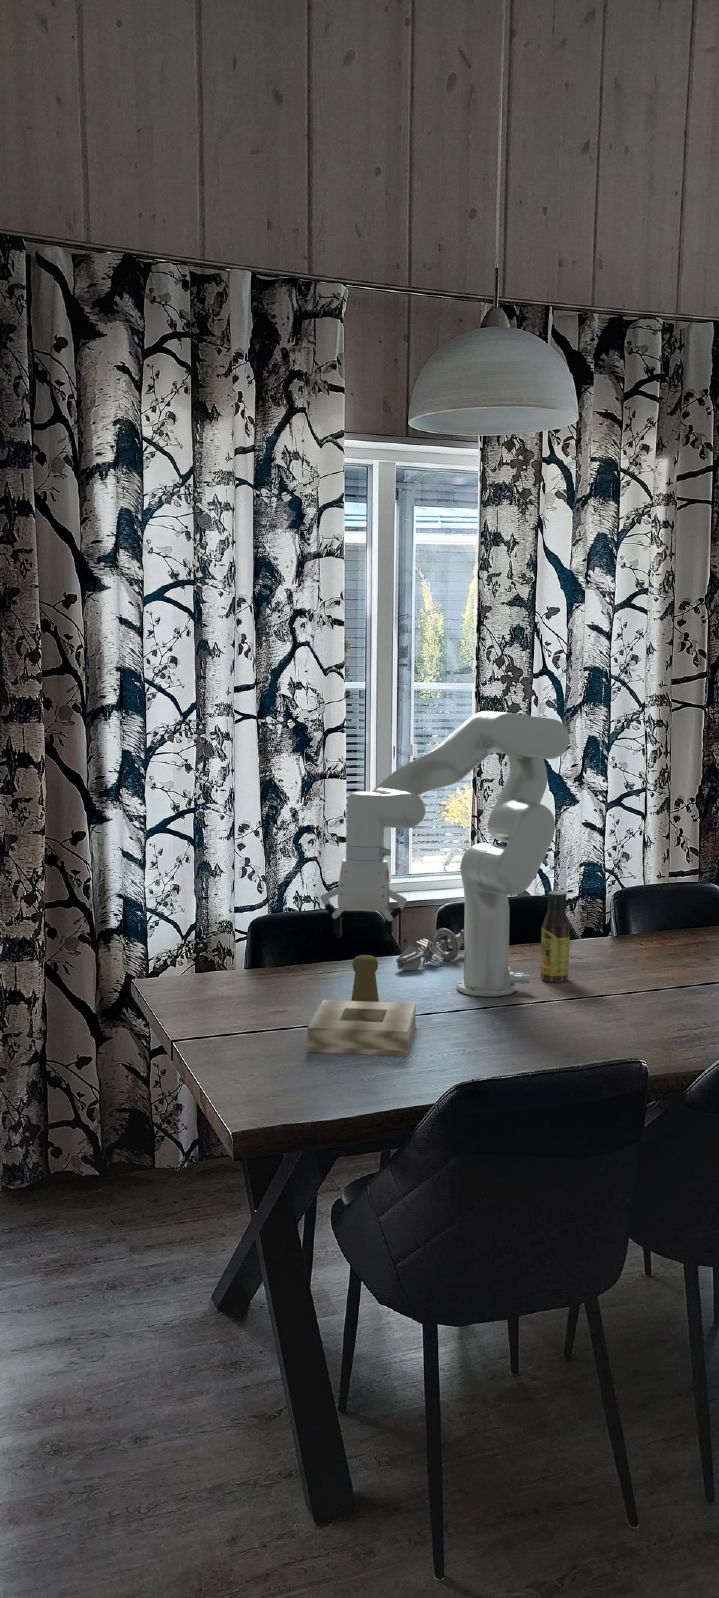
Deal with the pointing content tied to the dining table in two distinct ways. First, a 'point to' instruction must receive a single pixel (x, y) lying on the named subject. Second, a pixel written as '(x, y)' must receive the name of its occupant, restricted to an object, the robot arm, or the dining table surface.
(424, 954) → the spaceship
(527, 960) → the dining table surface
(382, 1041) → the socket block
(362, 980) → the cork
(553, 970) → the sauce bottle
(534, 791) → the robot arm
